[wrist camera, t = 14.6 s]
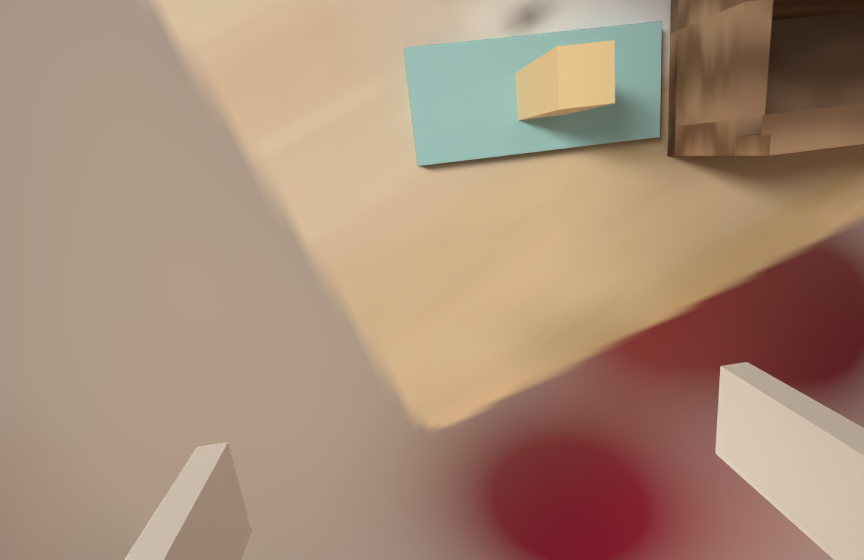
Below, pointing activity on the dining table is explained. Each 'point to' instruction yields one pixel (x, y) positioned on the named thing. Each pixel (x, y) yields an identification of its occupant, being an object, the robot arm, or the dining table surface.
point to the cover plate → (487, 95)
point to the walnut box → (765, 76)
